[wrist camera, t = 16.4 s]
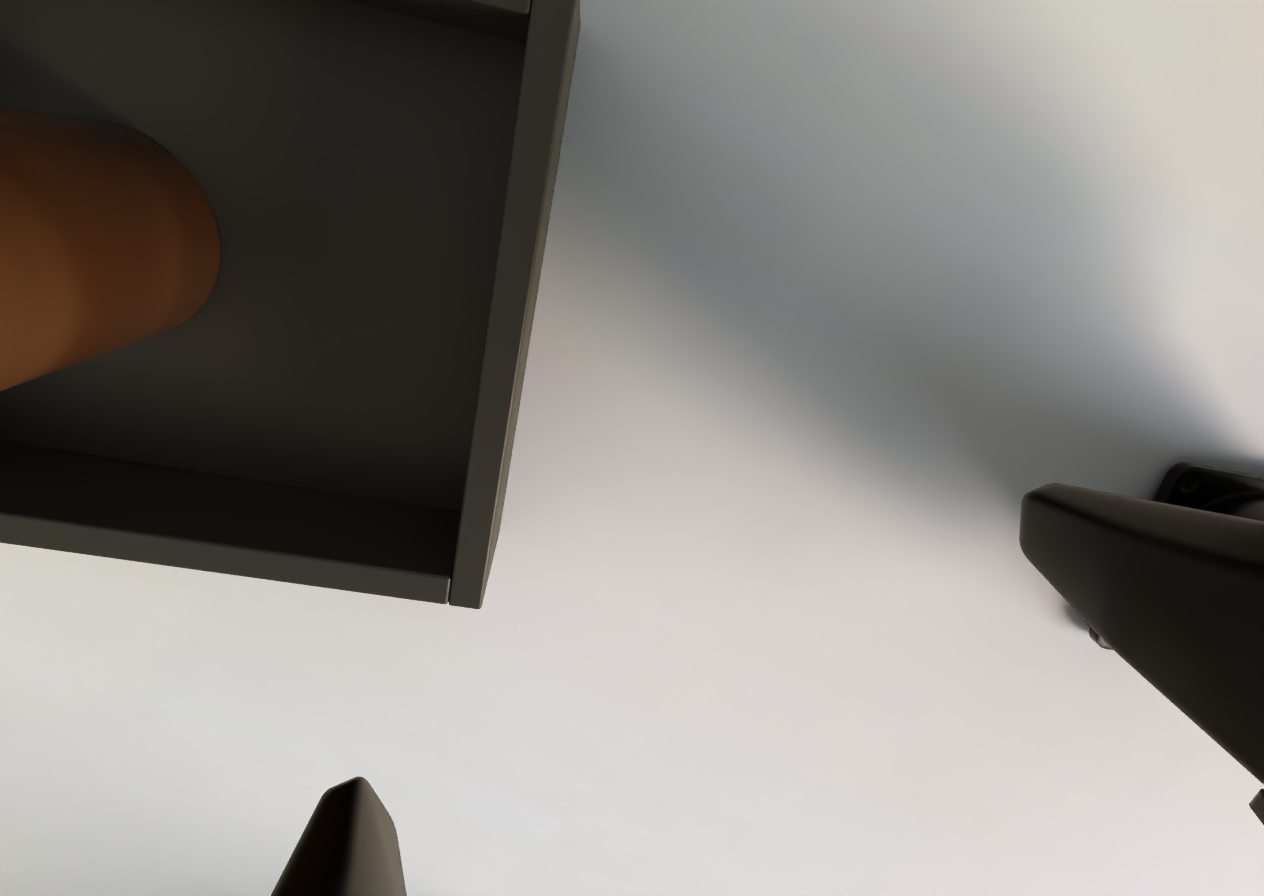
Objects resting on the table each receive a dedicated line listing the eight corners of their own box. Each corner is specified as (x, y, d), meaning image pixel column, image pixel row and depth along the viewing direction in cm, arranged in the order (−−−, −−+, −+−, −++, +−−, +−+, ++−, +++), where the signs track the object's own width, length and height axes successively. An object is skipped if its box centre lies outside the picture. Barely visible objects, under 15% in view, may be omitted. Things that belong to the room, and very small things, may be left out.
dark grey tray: (581, 22, 17) (580, -24, 13) (498, 534, 21) (480, 610, 17) (-168, -165, 15) (-424, -283, 11) (-84, 446, 19) (-244, 510, 15)
